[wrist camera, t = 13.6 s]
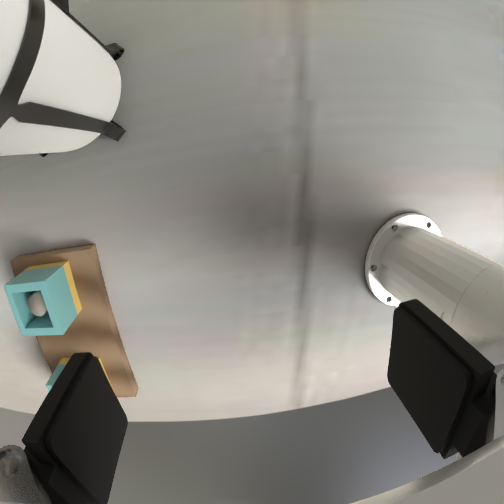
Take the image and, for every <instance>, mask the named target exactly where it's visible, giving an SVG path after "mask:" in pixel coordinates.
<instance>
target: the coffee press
mask: <svg viewBox="0 0 504 504" xmlns="http://www.w3.org/2000/svg"><path fill="white" fill-rule="evenodd" d="M99 44H100V45H101V46H102V47H104V48H105V49H107V50H108V51H109V52H111V53H108V52H107V51H106V50H104V49H103V48H102V47H101V46H100V45H99ZM123 53H124V49H123V48H122V47H121V46H119V45H118V44H116V43H113V44H110V45H106V46H104V45H103V44H102V43H101V42H100V41H99V40H98V39H97V38H96V37H95V36H94V35H93V34H92V33H90V32H89V31H88V30H87V29H86V28H85V27H84V26H83V25H82V24H81V23H80V22H79V21H78V20H76V19H75V18H74V17H73V16H72V15H71V14H70V13H69V4H68V0H0V156H8V155H21V154H38V153H39V154H40V155H41V156H42V157H45V156H46V155H47V154H48V153H57V152H68V151H73V150H76V149H79V148H81V147H83V146H85V145H87V144H89V143H90V142H92V141H93V140H94V139H96V138H97V137H98V136H99V135H100V134H101V133H102V134H105V135H107V136H109V137H111V138H113V139H114V140H116V141H119V139H120V138H121V137H122V136H123V134H124V133H125V132H126V131H125V130H124V129H123V128H122V127H121V126H119V125H118V124H117V123H115V122H114V121H112V118H113V116H114V114H115V112H116V109H117V107H118V104H119V100H120V95H121V76H120V72H119V69H118V66H117V64H116V62H115V60H117V59H118V58H120V57H121V56H122V54H123Z"/></svg>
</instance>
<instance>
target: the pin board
mask: <svg viewBox="0 0 504 504" xmlns="http://www.w3.org/2000/svg"><path fill="white" fill-rule="evenodd" d="M64 261H69V264H70V268H71V272H72V276H73V279H74V283H75V287H76V290H77V293H78V297H79V300H80V303H81V307H82V310H81V311H80V312H79V314H78V315H77V317H76V318H75V319H74V321H73V322H72V323H71V325H70V326H69V327H68V329H67V330H66V332H65V333H64V334H63V335H41V336H36V338H37V340H38V342H39V345H40V347H41V349H42V352H43V354H44V356H45V358H46V361H47V363H48V365H49V367H50V369H51V371H52V373H53V372H54V370H55V369H56V367H57V365H58V364H59V362H60V360H61V359H62V358H71V356H72V355H73V354H74V353H81V352H90V353H92V354H93V356H96V357H100V359H101V362H102V364H103V367H104V369H105V371H106V374H107V376H108V379H109V381H110V383H111V386H112V388H113V390H114V393H115V395H116V397H136V394H137V391H138V386H137V383H136V380H135V378H134V375H133V372H132V370H131V367H130V364H129V362H128V359H127V356H126V353H125V350H124V347H123V344H122V341H121V338H120V335H119V332H118V329H117V326H116V322H115V319H114V316H113V312H112V309H111V305H110V302H109V298H108V295H107V291H106V287H105V284H104V280H103V276H102V272H101V268H100V263H99V259H98V255H97V250H96V246H95V244H92V245H86V246H79V247H73V248H66V249H60V250H54V251H48V252H42V253H36V254H30V255H24V256H18V257H17V258H15V259H14V260H12V261H11V265H12V268H13V272H14V275H15V277H16V276H17V275H19V274H20V273H21V272H23V271H24V270H25V269H27V268H28V267H30V266H36V265H43V264H50V263H57V262H64ZM28 307H29V309H30V311H31V312H32V313H33V314H34V315H36V316H43V315H44V314H45V313H46V311H47V308H46V305H45V302H44V299H43V296H42V293H41V290H38V291H36V292H35V293H34V294H33V295H32V296H31V297H29V299H28Z"/></svg>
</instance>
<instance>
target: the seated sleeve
mask: <svg viewBox="0 0 504 504" xmlns="http://www.w3.org/2000/svg"><path fill="white" fill-rule="evenodd" d="M4 288H5V291H6V294H7V297H8V300H9V303H10V306H11V308H12V311H13V314H14V317H15V319H16V322H17V324H18V327H19V329H20V332H21V334H22V336H41V335H63V334H64V333H65V332H66V330H67V329H68V327H69V326H70V325H71V323H72V322H73V321H74V319H75V318H76V317H77V315H78V314H79V312H80V311H81V310H82V307H81V303H80V300H79V297H78V293H77V290H76V287H75V283H74V279H73V276H72V272H71V268H70V264H69V261H64V262H57V263H50V264H43V265H36V266H30V267H28V268H27V269H25V270H24V271H23V272H21V273H20V274H19V275H17V276H16V277H15V278H13V279H12V280H11V281H9V282H8V283H7V284H5V285H4ZM38 290H41V293H42V296H43V299H44V302H45V305H46V308H47V311H46V313H45V314H44V315H43V316H36V315H34V314H33V313H32V312H31V311H30V309H29V307H28V299H29V297H31V296H32V295H33V294H34V293H35V292H36V291H38Z"/></svg>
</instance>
